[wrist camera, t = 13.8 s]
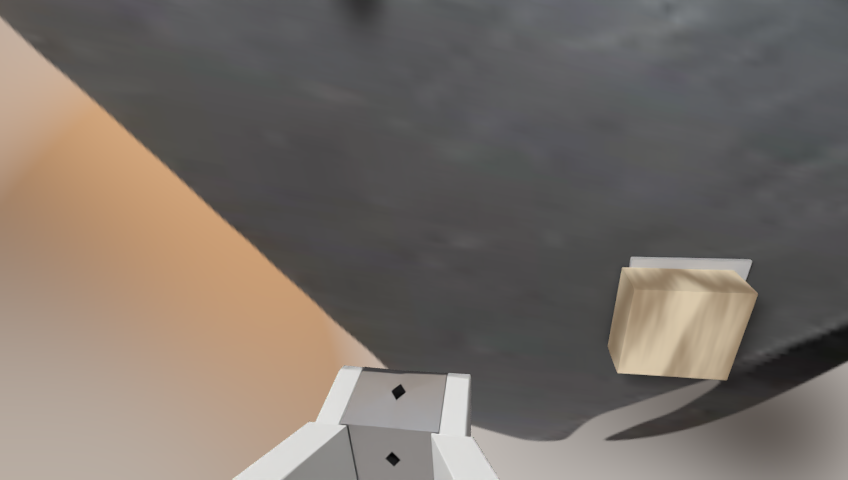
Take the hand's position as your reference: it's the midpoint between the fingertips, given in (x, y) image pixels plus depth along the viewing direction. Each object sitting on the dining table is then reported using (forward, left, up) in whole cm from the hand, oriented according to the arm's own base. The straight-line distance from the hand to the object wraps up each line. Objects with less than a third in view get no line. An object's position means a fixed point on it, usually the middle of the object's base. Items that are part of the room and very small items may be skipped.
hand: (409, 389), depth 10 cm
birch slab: (-15, +19, -29) cm, 37 cm away
